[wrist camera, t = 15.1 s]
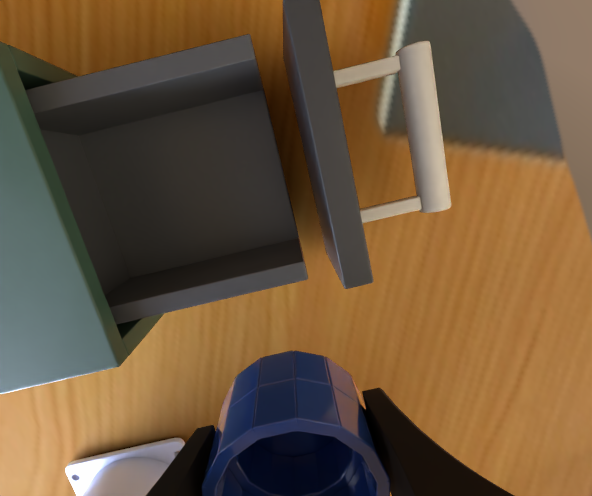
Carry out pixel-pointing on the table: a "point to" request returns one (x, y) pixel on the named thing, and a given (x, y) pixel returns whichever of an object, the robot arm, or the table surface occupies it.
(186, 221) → the drawer
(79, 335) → the sage green box
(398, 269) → the table surface
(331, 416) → the blue cup
